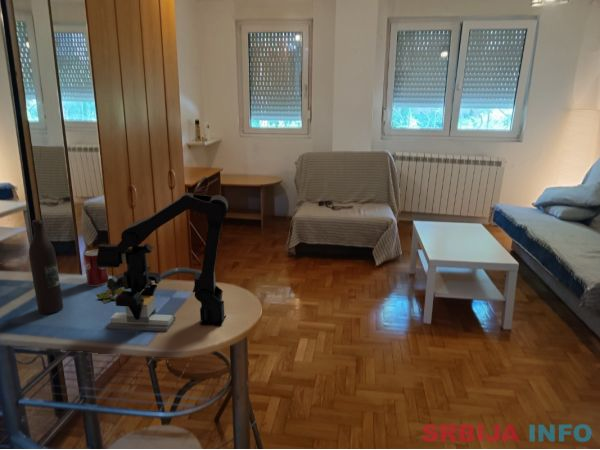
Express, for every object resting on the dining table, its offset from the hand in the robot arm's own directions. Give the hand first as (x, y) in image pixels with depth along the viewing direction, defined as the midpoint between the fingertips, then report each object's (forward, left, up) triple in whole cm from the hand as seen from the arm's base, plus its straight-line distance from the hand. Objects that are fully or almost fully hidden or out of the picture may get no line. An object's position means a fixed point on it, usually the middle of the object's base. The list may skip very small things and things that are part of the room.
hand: (141, 314), depth 132 cm
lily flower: (+18, -18, -4) cm, 26 cm away
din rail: (0, 0, -3) cm, 3 cm away
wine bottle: (+33, -6, -4) cm, 34 cm away
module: (0, 0, -1) cm, 1 cm away
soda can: (+29, -28, -4) cm, 41 cm away
